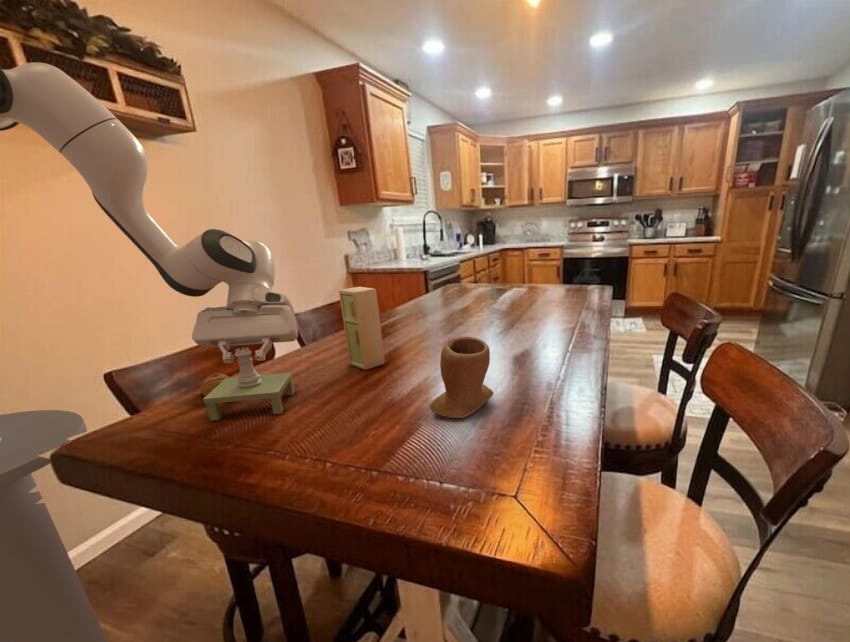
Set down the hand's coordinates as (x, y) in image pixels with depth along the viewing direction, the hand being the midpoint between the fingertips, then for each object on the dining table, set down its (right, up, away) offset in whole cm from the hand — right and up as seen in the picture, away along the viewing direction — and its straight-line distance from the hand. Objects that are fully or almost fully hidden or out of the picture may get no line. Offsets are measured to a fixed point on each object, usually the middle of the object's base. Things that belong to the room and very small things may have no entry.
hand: (244, 360), depth 85 cm
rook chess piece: (0, -5, +2) cm, 6 cm away
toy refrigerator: (+18, -1, +28) cm, 33 cm away
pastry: (-13, -8, +12) cm, 19 cm away
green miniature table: (0, -10, +4) cm, 11 cm away
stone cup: (+47, -10, +1) cm, 48 cm away
